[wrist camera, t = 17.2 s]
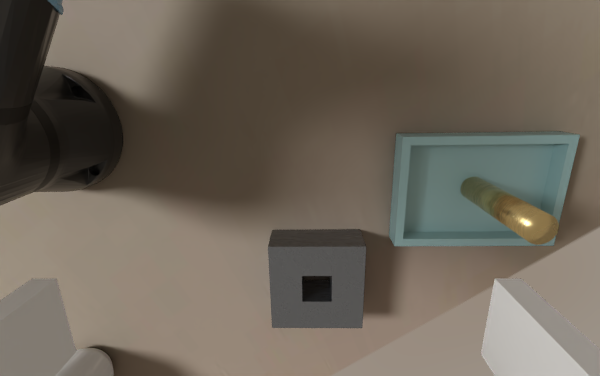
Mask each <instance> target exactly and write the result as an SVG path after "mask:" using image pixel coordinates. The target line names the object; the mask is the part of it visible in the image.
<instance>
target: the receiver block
mask: <svg viewBox="0 0 600 376" xmlns="http://www.w3.org/2000/svg"><path fill="white" fill-rule="evenodd" d="M268 254H269V274H270V294H271V314H272V328H362V323H363V302H364V281H365V261H366V245H365V242H364V239H363V236H362V234H361V231H360V229H353V230H272V234H271V237H270V241H269V245H268ZM303 276H329V280H303Z"/></svg>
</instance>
